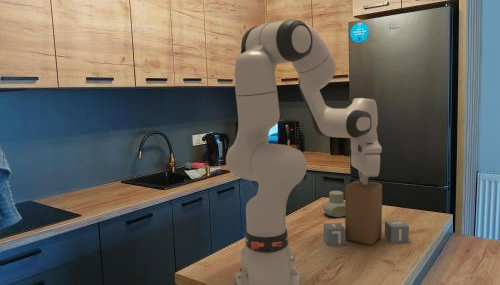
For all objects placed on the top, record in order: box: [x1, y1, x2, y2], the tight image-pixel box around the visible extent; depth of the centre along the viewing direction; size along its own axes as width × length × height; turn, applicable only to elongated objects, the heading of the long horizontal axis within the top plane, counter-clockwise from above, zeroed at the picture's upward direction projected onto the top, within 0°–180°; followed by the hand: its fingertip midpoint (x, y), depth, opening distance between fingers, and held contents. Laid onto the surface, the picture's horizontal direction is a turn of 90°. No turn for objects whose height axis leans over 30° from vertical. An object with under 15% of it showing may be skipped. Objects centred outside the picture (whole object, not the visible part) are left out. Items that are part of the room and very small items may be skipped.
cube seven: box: [323, 222, 346, 247], centre depth 134 cm, size 6×6×6 cm
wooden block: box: [344, 179, 383, 246], centre depth 135 cm, size 10×10×20 cm
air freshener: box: [322, 190, 345, 218], centre depth 162 cm, size 11×8×10 cm
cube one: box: [384, 219, 410, 244], centre depth 134 cm, size 6×6×6 cm
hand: (363, 183), depth 134 cm, fingers closed, pressing on wooden block
